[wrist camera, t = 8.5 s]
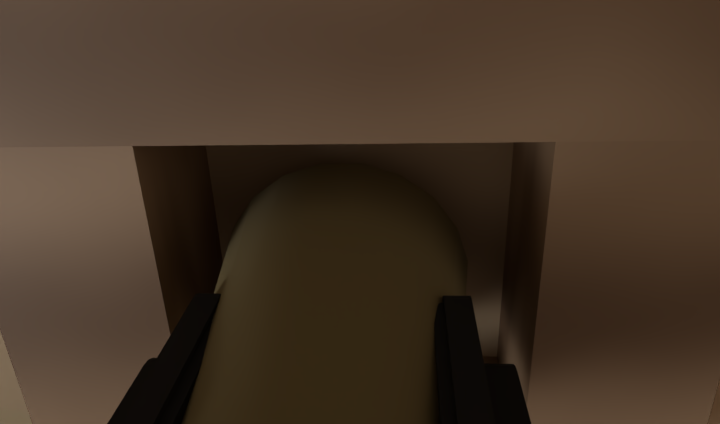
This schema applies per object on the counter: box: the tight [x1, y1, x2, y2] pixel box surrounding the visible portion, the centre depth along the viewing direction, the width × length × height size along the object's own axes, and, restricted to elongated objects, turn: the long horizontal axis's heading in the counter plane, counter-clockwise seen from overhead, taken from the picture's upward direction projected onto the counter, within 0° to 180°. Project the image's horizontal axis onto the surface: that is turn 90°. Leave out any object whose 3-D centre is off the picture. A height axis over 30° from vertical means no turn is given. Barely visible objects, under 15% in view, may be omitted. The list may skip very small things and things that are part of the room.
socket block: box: [0, 0, 720, 424], centre depth 15 cm, size 16×16×5 cm
